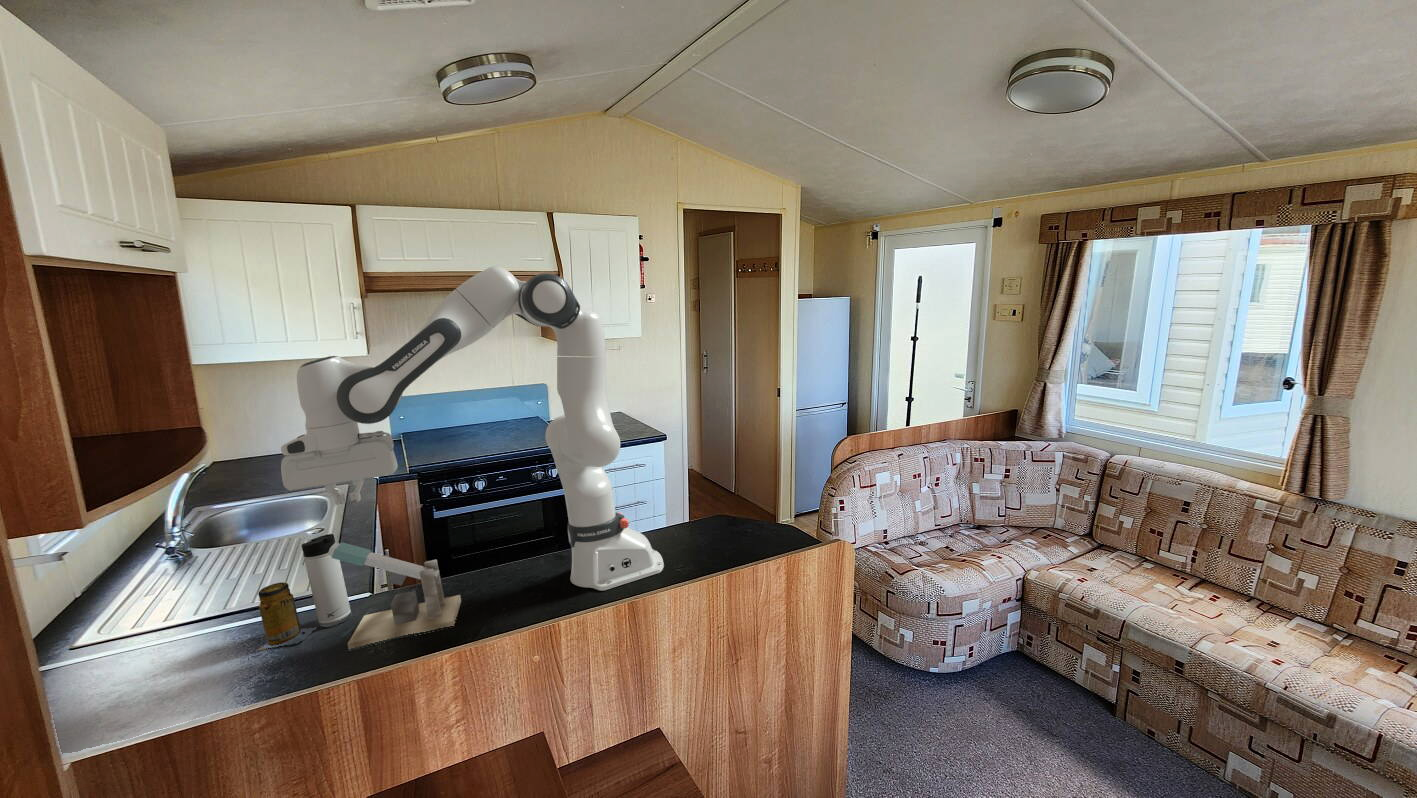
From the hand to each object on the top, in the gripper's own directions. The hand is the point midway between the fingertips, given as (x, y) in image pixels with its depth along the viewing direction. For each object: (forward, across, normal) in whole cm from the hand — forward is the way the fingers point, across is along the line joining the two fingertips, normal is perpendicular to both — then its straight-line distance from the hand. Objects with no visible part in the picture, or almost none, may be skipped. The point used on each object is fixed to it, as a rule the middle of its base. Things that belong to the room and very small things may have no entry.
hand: (348, 502), depth 121 cm
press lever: (+17, -3, 0) cm, 17 cm away
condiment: (+29, +19, -6) cm, 35 cm away
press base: (+29, -6, 0) cm, 30 cm away
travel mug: (+29, +11, -10) cm, 33 cm away
